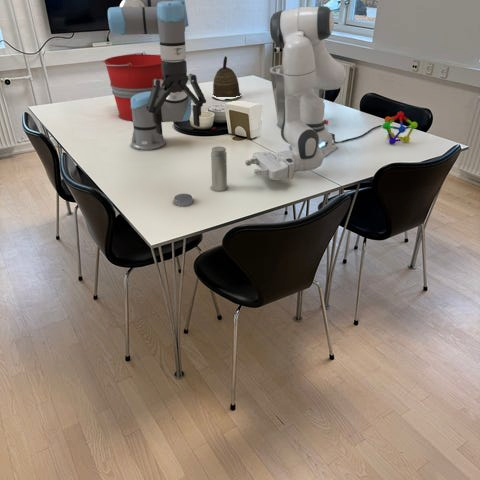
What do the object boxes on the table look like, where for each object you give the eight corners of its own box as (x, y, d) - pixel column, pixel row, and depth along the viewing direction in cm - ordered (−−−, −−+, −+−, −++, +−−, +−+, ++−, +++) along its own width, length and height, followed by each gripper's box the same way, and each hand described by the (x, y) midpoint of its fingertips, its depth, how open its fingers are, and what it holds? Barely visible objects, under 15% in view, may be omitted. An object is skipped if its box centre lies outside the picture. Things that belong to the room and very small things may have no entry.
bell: (227, 105, 294) (202, 96, 282) (238, 66, 289) (213, 55, 277) (243, 108, 280) (217, 98, 268) (255, 66, 275) (229, 55, 263)
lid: (175, 198, 160) (175, 193, 159) (193, 198, 160) (192, 193, 159) (173, 206, 155) (173, 201, 154) (191, 206, 155) (191, 201, 154)
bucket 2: (296, 138, 215) (301, 78, 201) (255, 124, 234) (256, 68, 219) (335, 125, 232) (342, 70, 217) (294, 113, 251) (297, 61, 236)
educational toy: (377, 146, 209) (379, 114, 202) (384, 138, 219) (386, 107, 211) (411, 149, 202) (415, 116, 195) (417, 141, 212) (420, 109, 204)
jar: (220, 192, 164) (219, 152, 156) (209, 188, 167) (207, 149, 159) (229, 187, 168) (229, 148, 160) (218, 183, 171) (218, 144, 163)
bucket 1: (119, 105, 264) (111, 51, 248) (177, 106, 263) (173, 52, 247) (101, 123, 234) (92, 63, 218) (167, 124, 233) (162, 63, 218)
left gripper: (140, 66, 124) (148, 139, 135) (215, 57, 136) (217, 125, 147) (129, 62, 129) (138, 133, 140) (203, 54, 141) (205, 120, 152)
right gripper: (272, 146, 179) (240, 150, 174) (295, 164, 162) (260, 169, 158) (272, 161, 182) (240, 165, 178) (294, 180, 166) (260, 185, 162)
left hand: (178, 129), depth 144 cm, fingers open, 13 cm apart
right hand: (250, 167), depth 168 cm, fingers open, 8 cm apart
